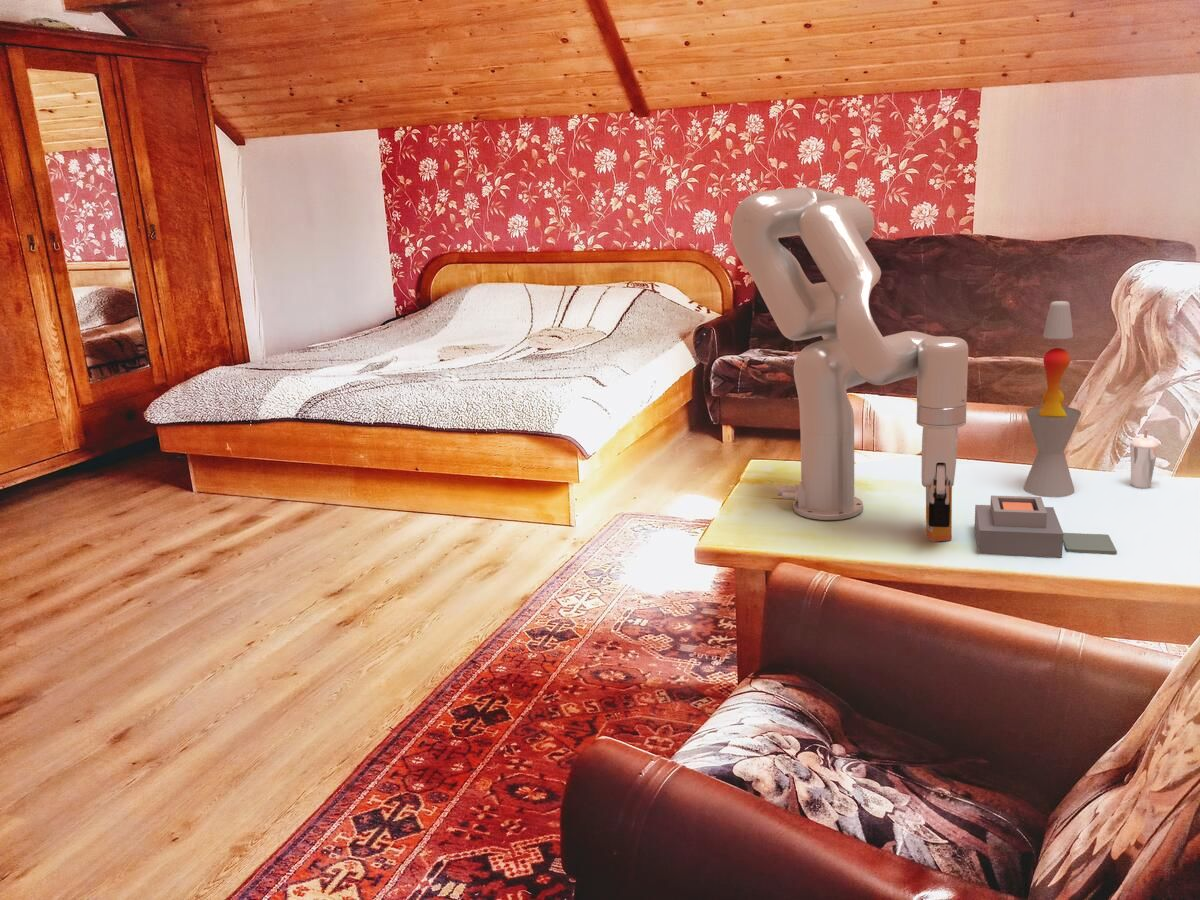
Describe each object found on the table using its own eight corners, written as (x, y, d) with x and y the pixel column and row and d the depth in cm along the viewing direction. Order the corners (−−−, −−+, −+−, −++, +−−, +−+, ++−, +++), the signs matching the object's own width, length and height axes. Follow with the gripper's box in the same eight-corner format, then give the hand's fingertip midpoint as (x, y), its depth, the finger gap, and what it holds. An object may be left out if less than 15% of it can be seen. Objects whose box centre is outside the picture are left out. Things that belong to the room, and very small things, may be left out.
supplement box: (943, 533, 157) (945, 477, 154) (951, 541, 154) (953, 483, 151) (924, 535, 157) (925, 479, 154) (932, 542, 154) (933, 485, 151)
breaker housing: (978, 553, 148) (980, 515, 146) (974, 526, 159) (975, 490, 157) (1061, 557, 144) (1064, 518, 143) (1051, 529, 155) (1054, 493, 153)
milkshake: (1155, 481, 173) (1160, 430, 170) (1154, 490, 169) (1159, 437, 166) (1127, 479, 175) (1132, 428, 173) (1125, 487, 171) (1130, 435, 168)
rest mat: (1066, 551, 146) (1066, 549, 146) (1060, 535, 153) (1060, 532, 152) (1116, 554, 144) (1116, 551, 144) (1108, 537, 150) (1108, 534, 150)
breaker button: (1003, 528, 150) (1004, 511, 149) (1001, 519, 154) (1001, 501, 153) (1033, 529, 148) (1034, 512, 147) (1030, 520, 152) (1031, 502, 151)
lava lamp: (1079, 498, 168) (1093, 304, 158) (1024, 496, 171) (1035, 306, 161) (1071, 482, 176) (1084, 297, 167) (1019, 481, 179) (1029, 299, 169)
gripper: (916, 401, 158) (914, 502, 164) (916, 428, 143) (914, 538, 148) (963, 401, 156) (960, 503, 161) (968, 428, 141) (965, 540, 146)
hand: (938, 518), depth 155 cm, fingers open, 5 cm apart
